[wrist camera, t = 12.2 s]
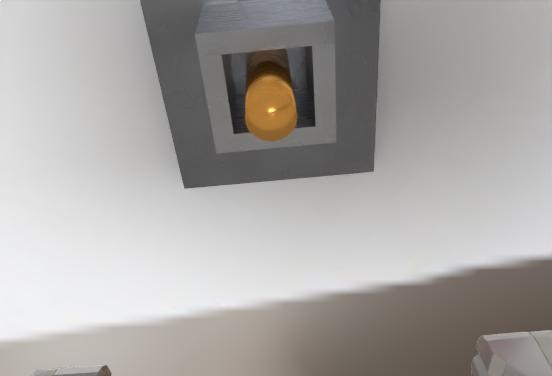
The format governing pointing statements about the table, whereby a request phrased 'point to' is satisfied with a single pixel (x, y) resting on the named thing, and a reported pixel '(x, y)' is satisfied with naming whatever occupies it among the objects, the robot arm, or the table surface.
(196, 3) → the base
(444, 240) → the table surface
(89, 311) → the table surface
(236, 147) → the hollow square tube
